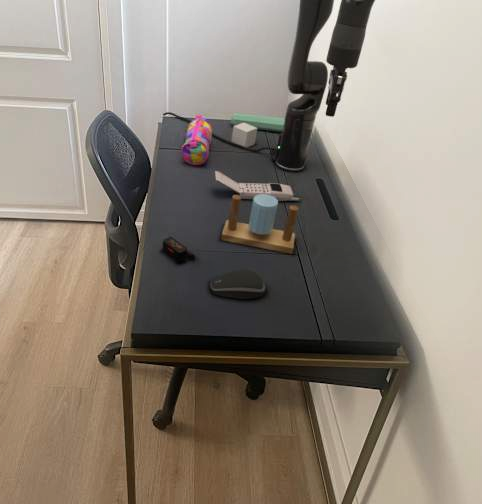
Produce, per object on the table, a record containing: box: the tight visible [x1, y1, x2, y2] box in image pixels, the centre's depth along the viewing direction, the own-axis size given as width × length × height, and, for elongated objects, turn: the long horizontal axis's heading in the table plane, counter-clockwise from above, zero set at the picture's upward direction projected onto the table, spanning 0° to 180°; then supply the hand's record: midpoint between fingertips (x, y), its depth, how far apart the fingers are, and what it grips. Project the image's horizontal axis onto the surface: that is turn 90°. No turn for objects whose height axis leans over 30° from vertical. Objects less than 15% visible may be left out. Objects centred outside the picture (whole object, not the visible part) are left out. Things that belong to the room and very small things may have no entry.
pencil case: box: [180, 114, 213, 166], centre depth 161 cm, size 22×9×9 cm, turn 178°
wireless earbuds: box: [162, 236, 196, 263], centre depth 116 cm, size 5×7×3 cm, turn 44°
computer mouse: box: [209, 268, 266, 300], centre depth 108 cm, size 7×12×4 cm, turn 94°
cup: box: [248, 194, 279, 235], centre depth 122 cm, size 6×6×8 cm
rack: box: [220, 194, 299, 255], centre depth 123 cm, size 18×7×11 cm, turn 79°
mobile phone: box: [214, 170, 300, 202], centre depth 143 cm, size 6×6×25 cm
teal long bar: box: [230, 112, 285, 133], centre depth 185 cm, size 6×6×25 cm
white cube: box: [230, 123, 258, 148], centre depth 172 cm, size 6×6×6 cm
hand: (329, 110), depth 127 cm, fingers open, 8 cm apart
